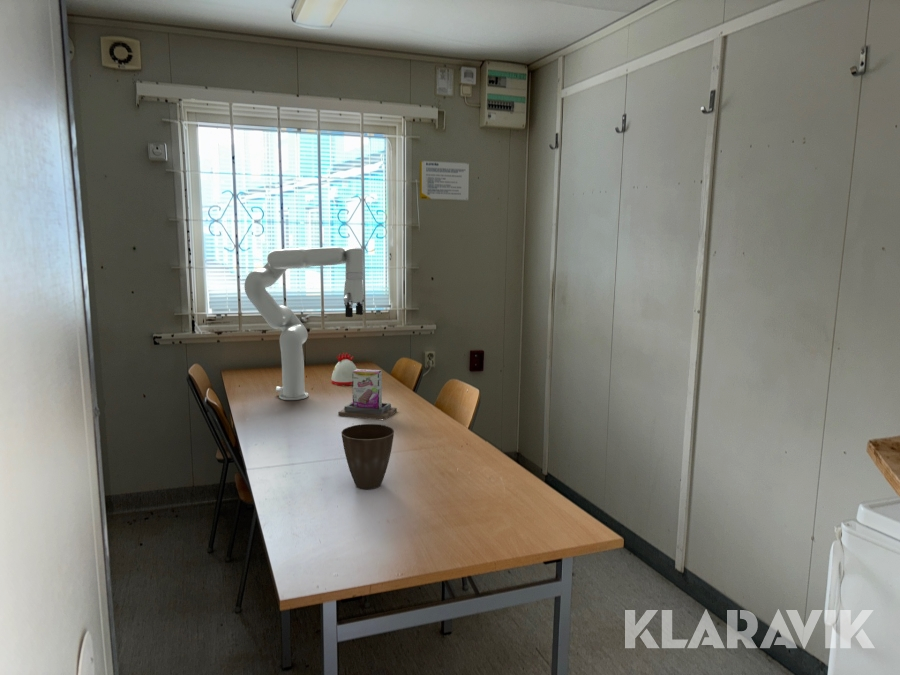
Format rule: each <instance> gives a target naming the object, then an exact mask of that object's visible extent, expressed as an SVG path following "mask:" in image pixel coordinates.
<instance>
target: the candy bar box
mask: <svg viewBox="0 0 900 675" xmlns="http://www.w3.org/2000/svg"><path fill="white" fill-rule="evenodd" d="M382 373H383V372H382V370H381V369H366V368H365V369H364V368H362V369H360V368H357V369H355V370H354V371H353V385H352V402H353V407H362V408H373V409H381V408H382V403H383V402H382V400H383V397H382V396H383V395H382V394H383V390H382V388H383V380H382V379H383V374H382Z"/></svg>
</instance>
